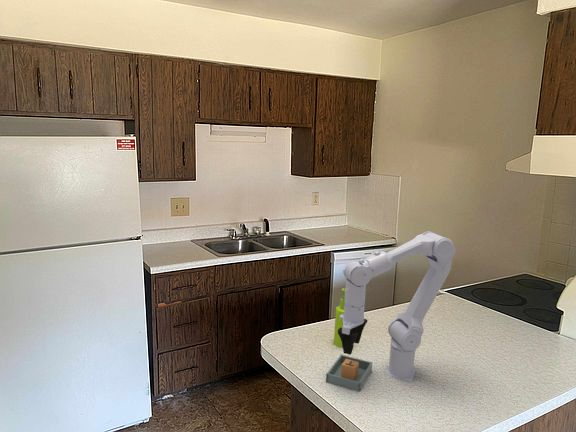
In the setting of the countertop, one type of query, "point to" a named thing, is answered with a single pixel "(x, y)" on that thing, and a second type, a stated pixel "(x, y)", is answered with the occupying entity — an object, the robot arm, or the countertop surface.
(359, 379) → the bin
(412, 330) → the robot arm
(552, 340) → the countertop surface
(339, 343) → the soap dispenser
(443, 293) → the countertop surface
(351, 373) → the letter cube
